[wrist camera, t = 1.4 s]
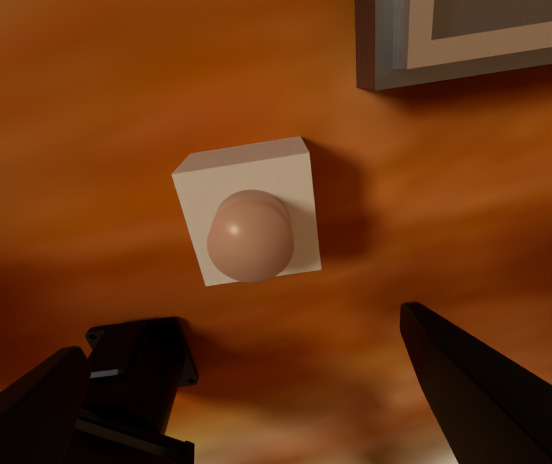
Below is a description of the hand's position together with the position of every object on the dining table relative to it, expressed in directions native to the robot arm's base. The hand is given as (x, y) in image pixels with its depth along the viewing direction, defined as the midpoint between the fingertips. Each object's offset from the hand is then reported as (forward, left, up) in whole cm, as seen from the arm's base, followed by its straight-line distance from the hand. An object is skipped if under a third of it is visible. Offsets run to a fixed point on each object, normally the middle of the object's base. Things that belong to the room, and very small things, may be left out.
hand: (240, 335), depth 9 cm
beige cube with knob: (0, 0, -11) cm, 11 cm away
